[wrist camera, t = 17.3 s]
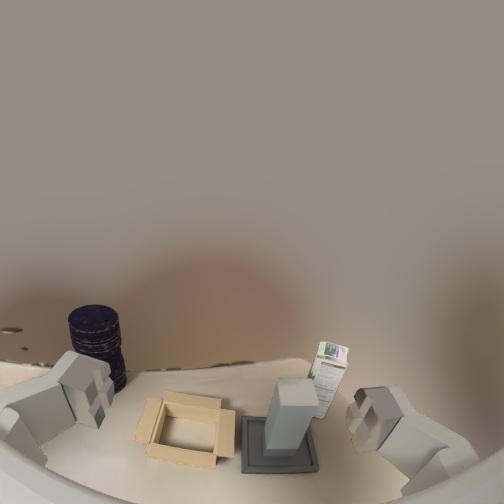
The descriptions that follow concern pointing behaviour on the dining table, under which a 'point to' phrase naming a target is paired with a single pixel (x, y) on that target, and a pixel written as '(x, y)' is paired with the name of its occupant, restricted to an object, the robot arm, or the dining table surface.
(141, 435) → the carton
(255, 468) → the tray
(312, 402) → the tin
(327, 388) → the syrup box
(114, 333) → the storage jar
